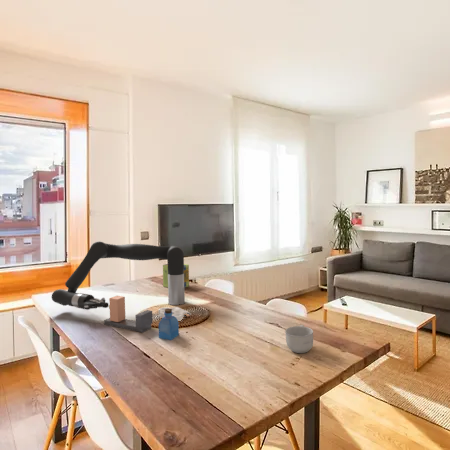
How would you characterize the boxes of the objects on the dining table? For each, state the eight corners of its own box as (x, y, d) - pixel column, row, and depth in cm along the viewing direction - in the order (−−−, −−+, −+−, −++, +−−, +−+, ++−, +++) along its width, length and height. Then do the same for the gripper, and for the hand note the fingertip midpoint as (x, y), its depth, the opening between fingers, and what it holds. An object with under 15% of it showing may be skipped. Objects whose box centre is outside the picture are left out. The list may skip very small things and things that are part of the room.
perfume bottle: (178, 335, 152) (178, 308, 152) (170, 340, 147) (170, 312, 146) (167, 333, 155) (166, 306, 154) (158, 338, 149) (158, 310, 149)
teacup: (307, 358, 128) (308, 337, 128) (280, 352, 134) (280, 331, 134) (319, 345, 140) (319, 325, 140) (293, 339, 146) (293, 321, 145)
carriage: (108, 320, 166) (107, 297, 165) (116, 317, 171) (115, 295, 170) (117, 322, 163) (117, 299, 162) (125, 319, 168) (124, 296, 167)
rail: (102, 324, 166) (102, 308, 165) (115, 319, 173) (114, 304, 173) (141, 333, 155) (140, 315, 154) (152, 327, 162) (152, 310, 161)
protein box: (179, 289, 232) (179, 266, 231) (162, 286, 240) (162, 264, 239) (189, 286, 241) (189, 264, 240) (172, 283, 249) (172, 262, 248)
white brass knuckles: (194, 318, 175) (169, 325, 165) (176, 310, 189) (151, 316, 179) (194, 312, 174) (169, 318, 165) (175, 304, 188) (151, 309, 179)
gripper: (71, 297, 172) (96, 301, 163) (93, 290, 183) (117, 294, 175) (72, 312, 172) (97, 316, 164) (93, 304, 184) (117, 309, 176)
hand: (107, 305), depth 169 cm, fingers closed
